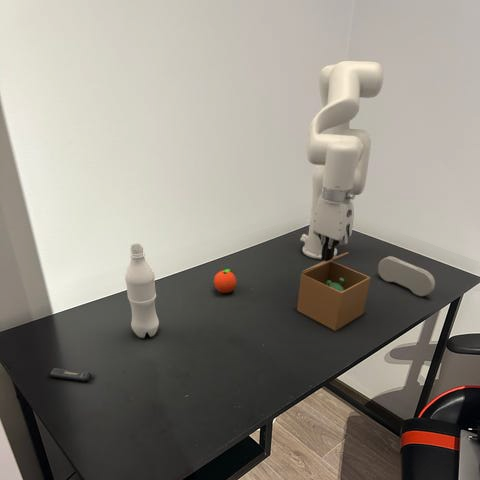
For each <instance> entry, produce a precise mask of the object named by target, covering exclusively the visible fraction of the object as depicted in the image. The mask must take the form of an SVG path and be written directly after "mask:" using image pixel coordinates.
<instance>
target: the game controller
mask: <svg viewBox="0 0 480 480" xmlns="http://www.w3.org/2000/svg"><path fill="white" fill-rule="evenodd" d="M377 272H378V274H379V276H380V278H381V279H382V280H384V281H385V282H388V283H396V284H398V285H400V286H402V287H404V288H407V289H409V290H410V291H411V292H412V293H413V294H414V295H415V296H418V297H425V296H428V295H429V294H431V293H432V292H433V291H434V290H435V287H436V281H435V277H434V276H433V274H432V273H430V271H428V270H426V269H424V268H421V267H419V266H417V265H414V264H412V263H408V262H406V261H404V260H402V259H399V258H397V257H395V256H390V255H389V256H387V257H384V258H383V259H381V260H380V261H379V262H378V265H377Z"/></svg>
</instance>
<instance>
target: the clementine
mask: <svg viewBox="0 0 480 480" xmlns="http://www.w3.org/2000/svg"><path fill="white" fill-rule="evenodd" d="M213 285H214V288H215V289H216V290H217V291H218V292H220V294H221V293H222V294H229V293H232V292H233V291H234V290H235V288H236V286H237V278H236V275H235V274H234V273H233V271H232V269H230V268H229V269H228V268H227V269H223V270H220V271H219V272H217V273H216V274H215V276H214V278H213Z"/></svg>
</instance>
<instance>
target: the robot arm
mask: <svg viewBox="0 0 480 480" xmlns="http://www.w3.org/2000/svg"><path fill="white" fill-rule="evenodd" d="M383 83H384V70H383V67H382V65H381V64H380V63H379V62H378V61H376V62H375V61H366V60H365V61H363V60H359V61H358V60H344V61H340V62H338V63H336V64H329V65H325V66H324V67H323V68H322V69H321V70H320V71H319V77H318V89H319V90H318V91H319V95H320V96H319V97H320V100H321V105H322V108H321V109H320V110H319V111H318V112H317V114H316V115H314V117H313V119H312V120H311V122H310V125H309V128H308V133H307V142H306V158H307V161H308V162H309V163H310V164H312V165H314V166H315V165H316V166H315V168H314V169H313V172H312V181H311V183H312V199H311V208H310V216H309V217H310V218H309V227H308V233H307V234H305V233H303V234H302V235H301V237H300V239H299V241H300V242H302V243H304V245H303V246H302V250H301V251H302V253H303V255H305V256H307V257H309V258H311V259H314V260H315V259H316V260H322V261H328V260H331V259H332V258H333V257H335V256H338V249H337V248H336V247H337V246H345V245H348V244H349V243H348V242H349V240H348V239H349V238H350V237H352V235H353V234H352V233H353V228H354V218H355V217H354V216H355V215H354V213H355V209H354V208H355V206H354V201H353V200H354V199H356V196H359V195H361V194H362V193H363V192H364V190H365V187H366V182H367V175H368V167H369V160H370V154H371V144H372V143H371V142H372V140H371V134H370V133H369V131H368V130H365V129H361V128H359V129H358V128H351V127H350V122H351V121H352V120H353V119H355V117H357V115H358V113H359V111H360V101H361V100H360V98H362V99H363V98H364V99H365V98H366V99H371V98H375V97H377V96H378V95H379V94H380V92H381V90H382V87H383Z"/></svg>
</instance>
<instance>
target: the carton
mask: <svg viewBox="0 0 480 480" xmlns="http://www.w3.org/2000/svg"><path fill="white" fill-rule="evenodd" d="M339 278H343V279H344V282H341V284H340V285H341V286H342V287H343V289H344V291H342V292H340V291H338V290H336V289H334V288H332V287H329V286H327V285H326V281H328V280H330V281H331V282H334V283H338V284H339V282H340V280H339ZM371 279H372V277H371V276H368V275H366V274H364V273H362V272H359V271H357V270H354V269H351V268H350V267H347V266H346V265H342V264H340V263H338V262H335V261H334V260H333V261H330V262H328V263H326V264H324V265H322V266H320V267H317V268H314V269H311V270H308V271H305V272H301V273H300V280H299V288H298V297H297V305H296V311H297V312H299V313H301V314H302V315H305V316H307V317H309V318H311V320H314V321H316V322H318V323H320V324H321V325H324V326H325V327H327V328H329V329H331V330H332V331H334V332H336V331H338V330H339V329H341V328H343V327H344V326H346V325H348V324H349V323H351V322H352V321H354V320H356V319H357V318H359V317H360V316H362V315H363V314H364V313H365V307H366V303H367V299H368V293H369V290H370V289H369V288H370V285H371Z"/></svg>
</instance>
